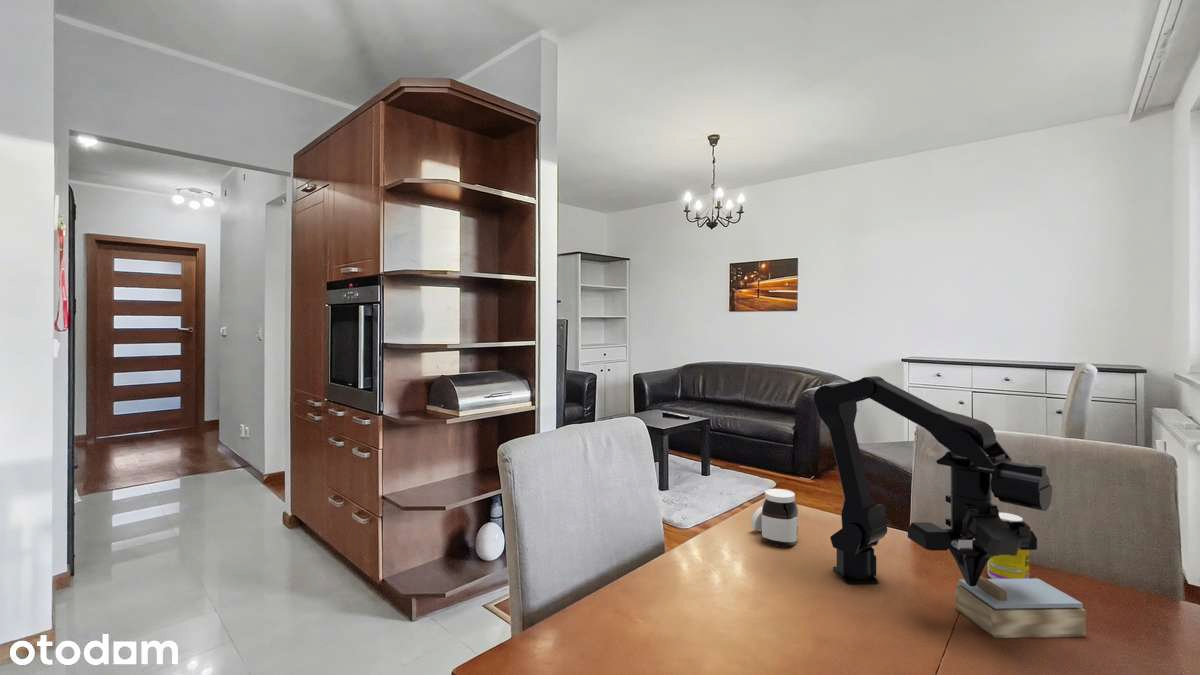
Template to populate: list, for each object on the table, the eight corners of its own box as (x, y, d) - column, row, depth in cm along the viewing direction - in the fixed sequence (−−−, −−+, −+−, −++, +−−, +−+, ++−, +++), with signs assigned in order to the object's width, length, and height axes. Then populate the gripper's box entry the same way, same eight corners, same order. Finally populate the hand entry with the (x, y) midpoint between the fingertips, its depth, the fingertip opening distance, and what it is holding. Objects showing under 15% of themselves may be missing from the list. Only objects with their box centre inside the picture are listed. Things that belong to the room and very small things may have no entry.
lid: (995, 608, 85) (995, 595, 85) (958, 583, 93) (958, 571, 93) (1082, 607, 85) (1082, 594, 85) (1037, 582, 93) (1037, 570, 93)
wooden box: (994, 637, 84) (994, 611, 84) (956, 608, 93) (955, 584, 93) (1085, 636, 85) (1085, 610, 84) (1038, 607, 94) (1038, 583, 93)
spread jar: (791, 552, 118) (791, 501, 118) (742, 541, 124) (742, 493, 124) (803, 534, 128) (802, 487, 128) (757, 525, 134) (757, 481, 134)
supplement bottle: (1032, 591, 99) (1032, 524, 99) (989, 582, 103) (989, 518, 103) (1026, 577, 105) (1026, 514, 105) (985, 569, 109) (985, 508, 108)
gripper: (947, 511, 81) (948, 610, 81) (1067, 510, 81) (1067, 609, 81) (905, 489, 92) (905, 577, 92) (1010, 488, 92) (1010, 576, 92)
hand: (970, 585), depth 89 cm, fingers closed
